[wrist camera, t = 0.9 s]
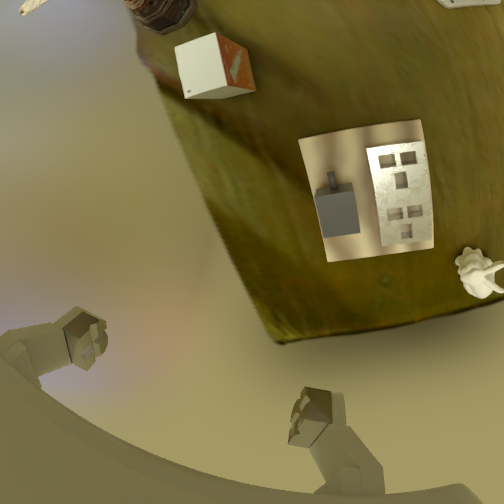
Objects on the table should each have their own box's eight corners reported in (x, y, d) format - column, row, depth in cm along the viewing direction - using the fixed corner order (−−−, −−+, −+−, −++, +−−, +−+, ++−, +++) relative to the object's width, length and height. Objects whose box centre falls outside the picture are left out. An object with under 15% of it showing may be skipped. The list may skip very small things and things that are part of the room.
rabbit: (444, 254, 43) (463, 293, 33) (479, 224, 38) (506, 257, 28) (468, 292, 44) (485, 331, 35) (500, 266, 39) (523, 302, 29)
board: (417, 119, 34) (420, 119, 33) (430, 242, 43) (433, 247, 41) (299, 138, 42) (298, 139, 41) (328, 256, 51) (327, 262, 49)
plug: (348, 164, 40) (349, 173, 35) (358, 216, 44) (360, 233, 38) (314, 170, 42) (310, 181, 37) (326, 221, 46) (323, 238, 40)
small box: (257, 91, 40) (228, 86, 29) (222, 99, 42) (183, 99, 32) (248, 48, 37) (215, 31, 26) (213, 58, 39) (172, 47, 28)
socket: (418, 139, 34) (422, 141, 32) (428, 233, 41) (432, 239, 39) (364, 146, 38) (366, 148, 36) (380, 239, 44) (381, 246, 42)
